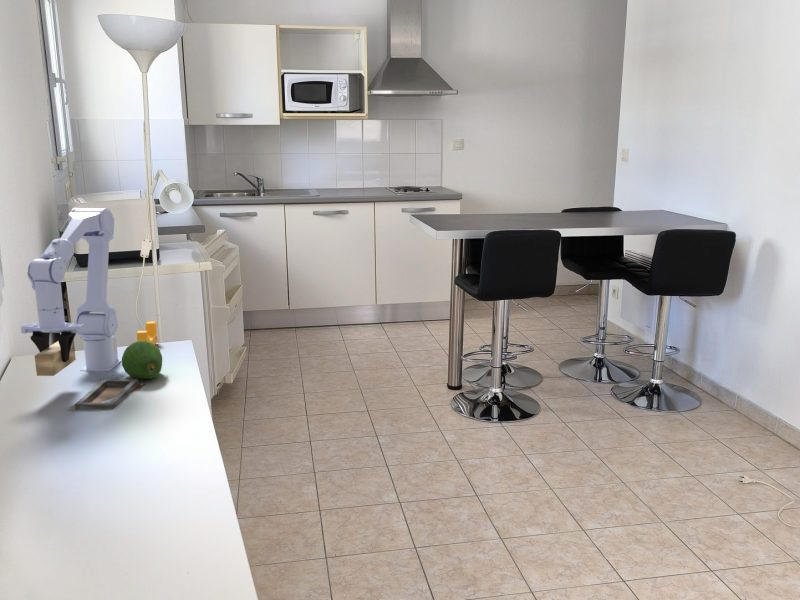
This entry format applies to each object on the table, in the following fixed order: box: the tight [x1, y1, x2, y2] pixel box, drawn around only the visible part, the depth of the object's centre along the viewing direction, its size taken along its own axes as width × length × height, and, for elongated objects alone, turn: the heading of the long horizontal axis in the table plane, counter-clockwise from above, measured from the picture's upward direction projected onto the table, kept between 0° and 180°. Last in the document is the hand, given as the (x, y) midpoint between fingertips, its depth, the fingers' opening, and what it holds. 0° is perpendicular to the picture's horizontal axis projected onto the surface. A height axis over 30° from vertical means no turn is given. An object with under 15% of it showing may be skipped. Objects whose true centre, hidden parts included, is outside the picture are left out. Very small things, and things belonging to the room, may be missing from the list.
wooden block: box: [34, 340, 77, 377], centre depth 177 cm, size 12×4×5 cm, turn 0°
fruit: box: [121, 340, 163, 381], centre depth 188 cm, size 15×10×10 cm, turn 29°
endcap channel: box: [67, 378, 146, 412], centre depth 175 cm, size 18×12×2 cm
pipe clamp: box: [136, 321, 158, 346], centre depth 216 cm, size 12×4×6 cm, turn 5°
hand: (56, 360), depth 178 cm, fingers closed on wooden block, 4 cm apart
